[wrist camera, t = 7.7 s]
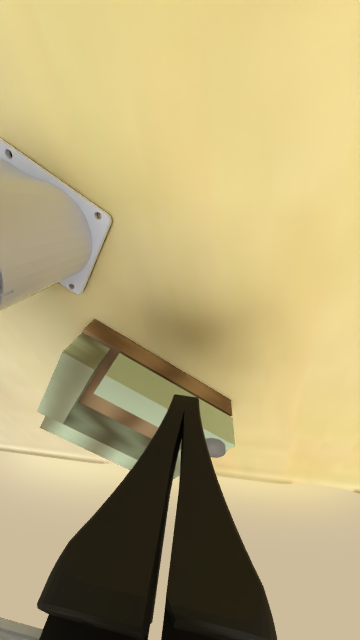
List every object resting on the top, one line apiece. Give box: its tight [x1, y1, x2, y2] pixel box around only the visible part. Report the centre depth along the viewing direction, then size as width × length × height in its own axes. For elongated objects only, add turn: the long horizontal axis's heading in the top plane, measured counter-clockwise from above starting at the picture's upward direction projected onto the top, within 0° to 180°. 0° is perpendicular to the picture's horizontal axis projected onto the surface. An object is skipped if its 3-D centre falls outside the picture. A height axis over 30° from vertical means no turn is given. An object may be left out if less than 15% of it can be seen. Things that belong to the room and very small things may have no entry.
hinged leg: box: [93, 353, 235, 458], centre depth 20 cm, size 14×3×4 cm, turn 57°
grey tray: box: [37, 319, 232, 479], centre depth 24 cm, size 18×14×5 cm
